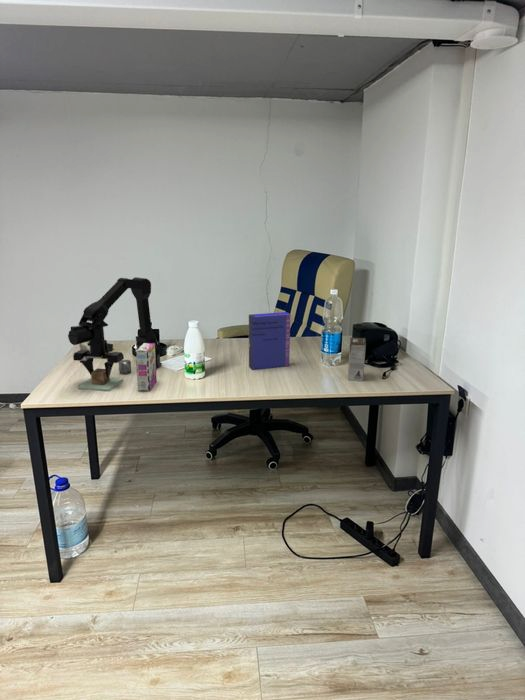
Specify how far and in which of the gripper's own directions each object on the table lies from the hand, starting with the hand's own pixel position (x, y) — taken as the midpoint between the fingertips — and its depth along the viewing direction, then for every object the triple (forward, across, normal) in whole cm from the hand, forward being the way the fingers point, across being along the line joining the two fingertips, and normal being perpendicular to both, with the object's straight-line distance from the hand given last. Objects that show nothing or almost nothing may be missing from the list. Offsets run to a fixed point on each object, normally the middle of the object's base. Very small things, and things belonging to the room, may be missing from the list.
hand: (100, 376), depth 187 cm
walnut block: (+2, 0, 0) cm, 2 cm away
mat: (+3, 0, 0) cm, 3 cm away
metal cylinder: (+3, -3, -15) cm, 16 cm away
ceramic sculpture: (+4, +23, -37) cm, 44 cm away
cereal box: (+4, -62, -35) cm, 71 cm away
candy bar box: (+4, -19, -2) cm, 19 cm away
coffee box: (+4, -100, -29) cm, 104 cm away
